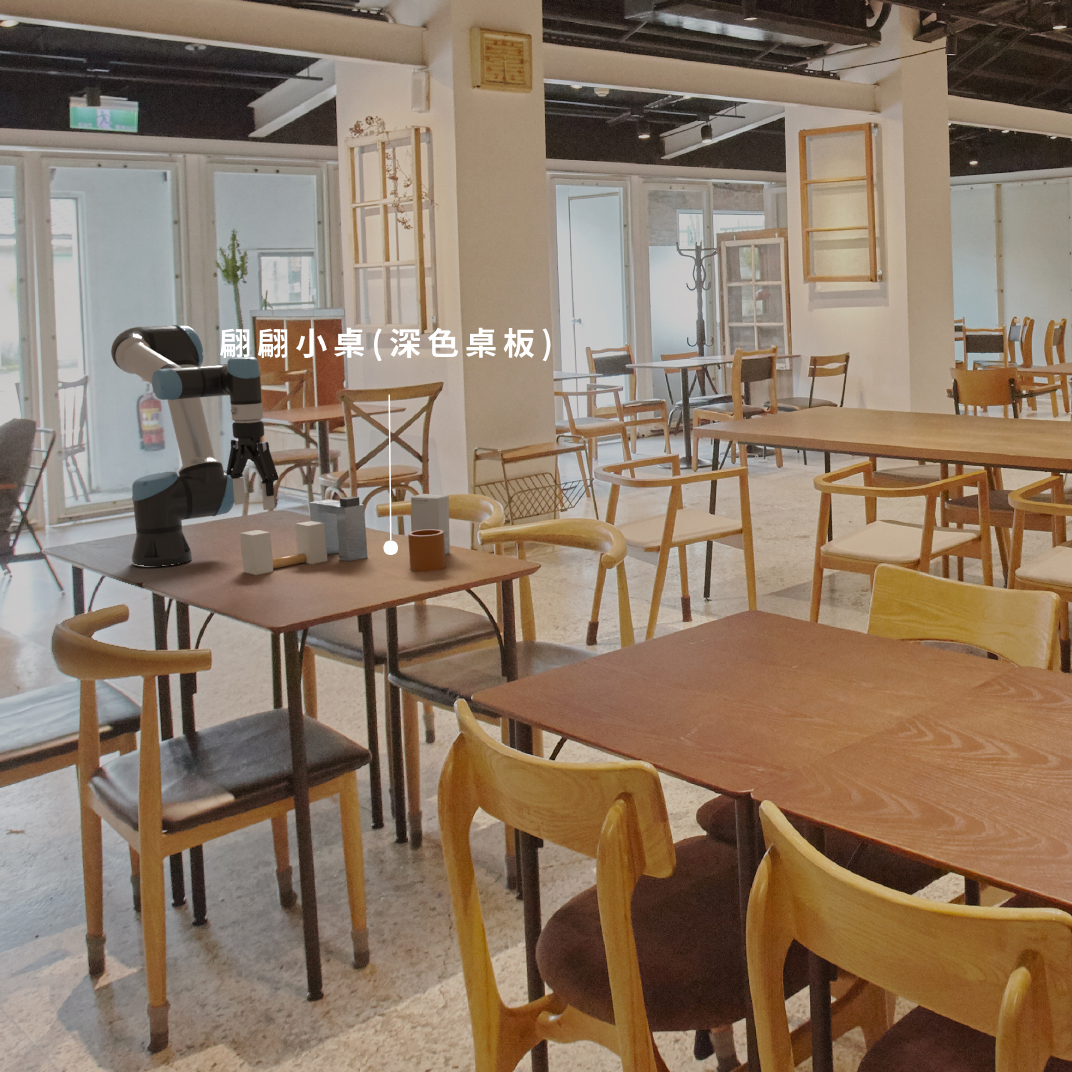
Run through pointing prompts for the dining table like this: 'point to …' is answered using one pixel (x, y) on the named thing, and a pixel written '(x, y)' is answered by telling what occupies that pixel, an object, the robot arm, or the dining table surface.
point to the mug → (427, 550)
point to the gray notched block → (342, 526)
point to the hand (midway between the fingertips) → (254, 506)
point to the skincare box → (431, 514)
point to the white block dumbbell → (308, 550)
